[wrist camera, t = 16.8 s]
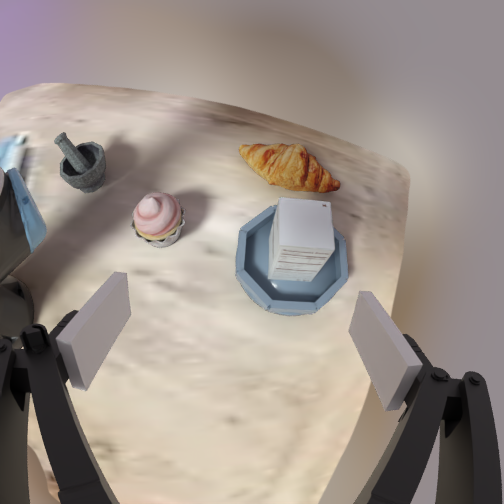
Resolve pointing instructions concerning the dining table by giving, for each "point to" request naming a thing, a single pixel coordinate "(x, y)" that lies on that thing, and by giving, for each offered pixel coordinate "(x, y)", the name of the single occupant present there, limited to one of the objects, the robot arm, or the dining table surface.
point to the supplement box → (300, 239)
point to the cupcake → (158, 219)
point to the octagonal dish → (285, 291)
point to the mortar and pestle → (82, 164)
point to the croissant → (288, 167)
